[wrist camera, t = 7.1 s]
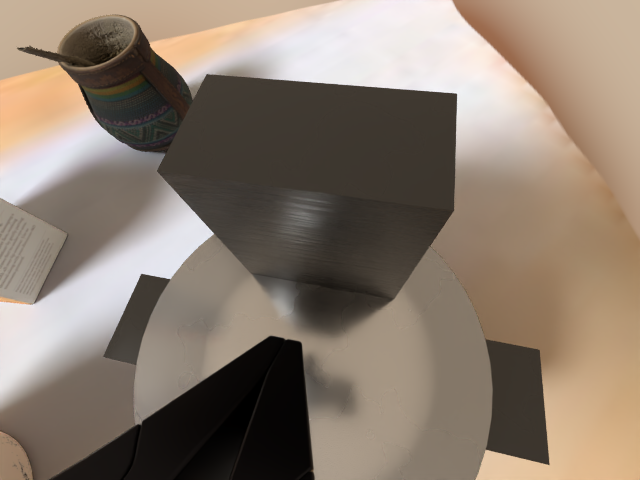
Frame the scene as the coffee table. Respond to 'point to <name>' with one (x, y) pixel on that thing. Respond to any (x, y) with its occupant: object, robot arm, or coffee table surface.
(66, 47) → the mate gourd
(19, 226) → the small box
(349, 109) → the lid
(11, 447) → the teacup with lid
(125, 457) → the robot arm
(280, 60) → the coffee table surface
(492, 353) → the pot
